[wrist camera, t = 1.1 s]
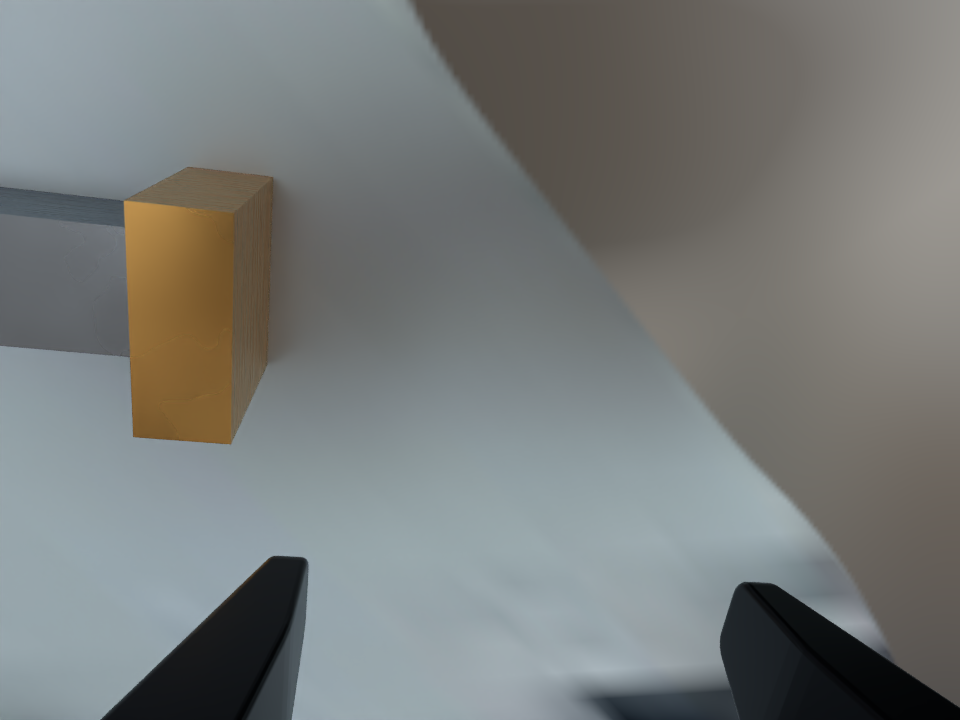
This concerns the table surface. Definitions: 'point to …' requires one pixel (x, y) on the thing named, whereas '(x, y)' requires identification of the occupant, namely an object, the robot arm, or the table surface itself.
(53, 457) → the table surface
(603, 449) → the table surface
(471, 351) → the table surface
